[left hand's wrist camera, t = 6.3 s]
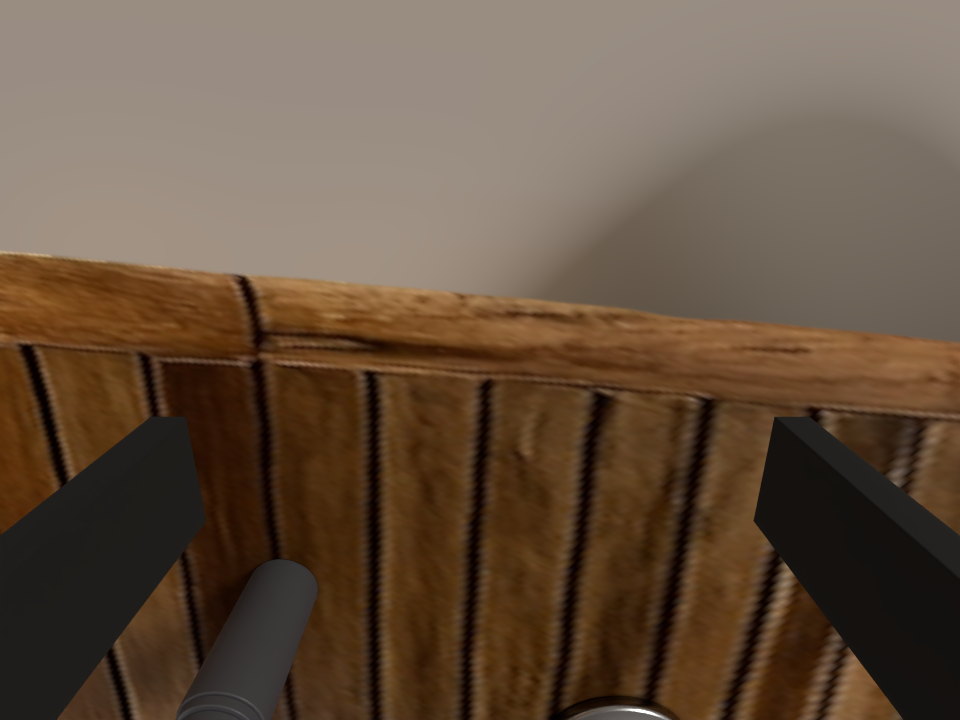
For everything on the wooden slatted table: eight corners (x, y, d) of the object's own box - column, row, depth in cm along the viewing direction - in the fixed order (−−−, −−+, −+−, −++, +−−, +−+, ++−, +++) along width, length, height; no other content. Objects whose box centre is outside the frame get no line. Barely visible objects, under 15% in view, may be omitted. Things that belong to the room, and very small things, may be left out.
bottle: (273, 621, 50) (160, 872, 32) (237, 572, 48) (97, 811, 31) (330, 599, 49) (247, 845, 32) (296, 549, 47) (187, 781, 30)
